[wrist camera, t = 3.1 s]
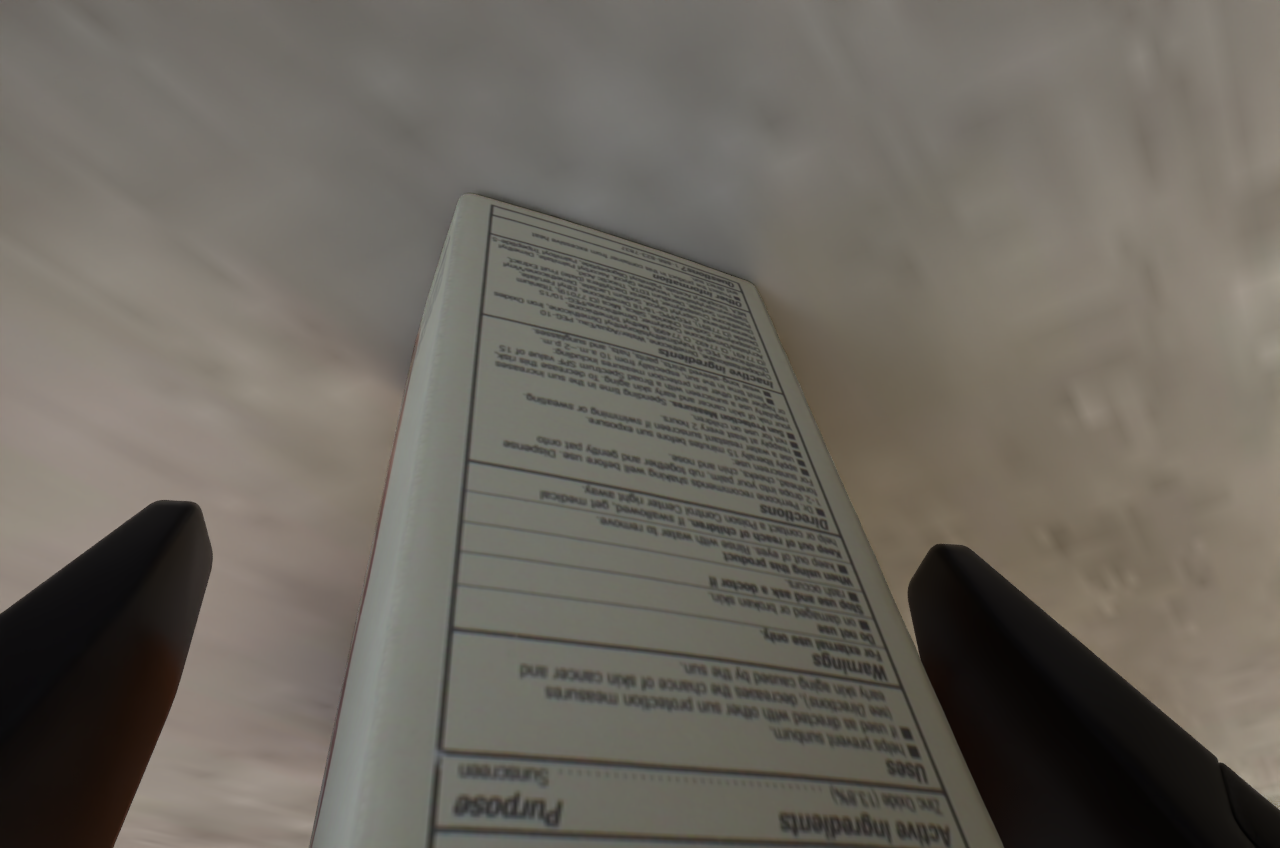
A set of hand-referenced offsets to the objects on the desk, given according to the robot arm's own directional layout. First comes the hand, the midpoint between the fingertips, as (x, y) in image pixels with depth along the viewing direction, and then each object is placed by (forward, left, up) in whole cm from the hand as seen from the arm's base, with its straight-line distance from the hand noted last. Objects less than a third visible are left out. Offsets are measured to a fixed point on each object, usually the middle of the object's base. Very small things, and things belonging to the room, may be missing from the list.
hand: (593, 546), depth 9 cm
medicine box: (0, 0, -5) cm, 5 cm away
